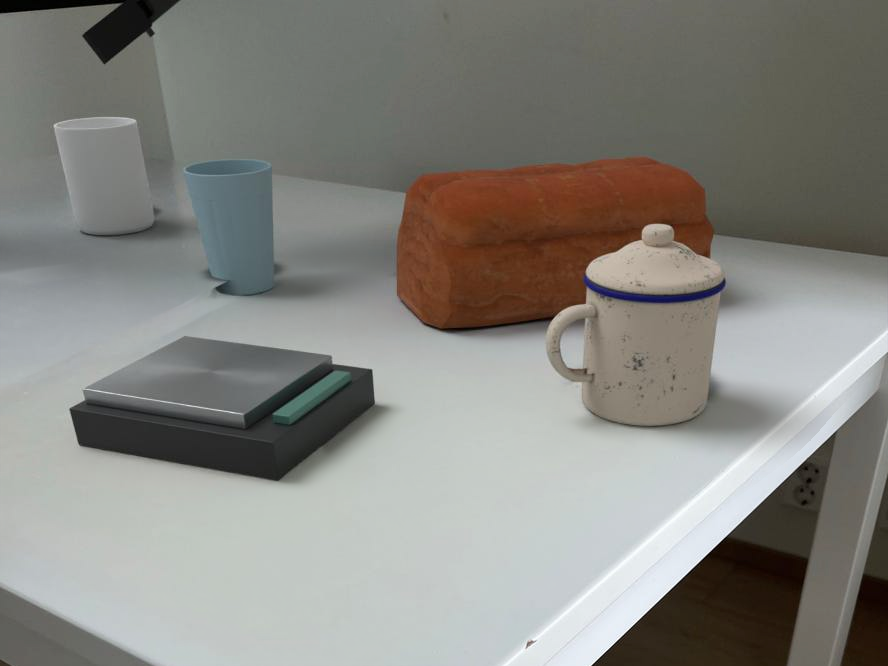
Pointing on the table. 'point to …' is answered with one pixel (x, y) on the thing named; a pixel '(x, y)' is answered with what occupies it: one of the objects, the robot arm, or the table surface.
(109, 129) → the mug
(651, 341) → the teacup with lid
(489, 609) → the table surface
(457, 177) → the bread
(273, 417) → the scale
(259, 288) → the cup
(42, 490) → the table surface
